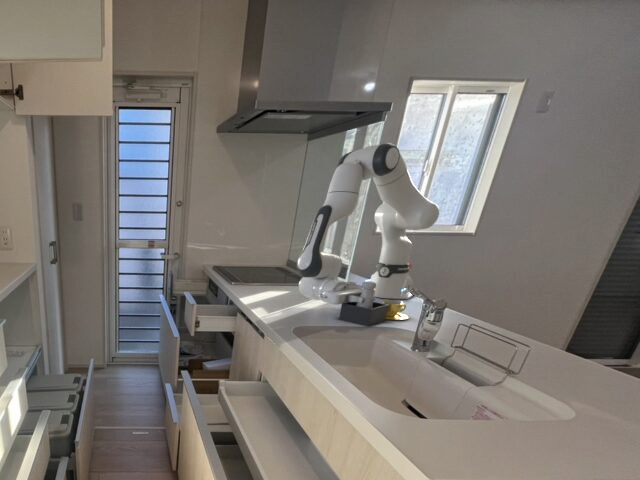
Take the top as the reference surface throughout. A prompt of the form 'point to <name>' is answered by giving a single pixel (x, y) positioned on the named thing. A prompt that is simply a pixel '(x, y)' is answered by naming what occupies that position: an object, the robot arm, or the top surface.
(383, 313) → the dark grey open box
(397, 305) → the cup
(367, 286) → the salt shaker
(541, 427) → the top surface
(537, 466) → the top surface
